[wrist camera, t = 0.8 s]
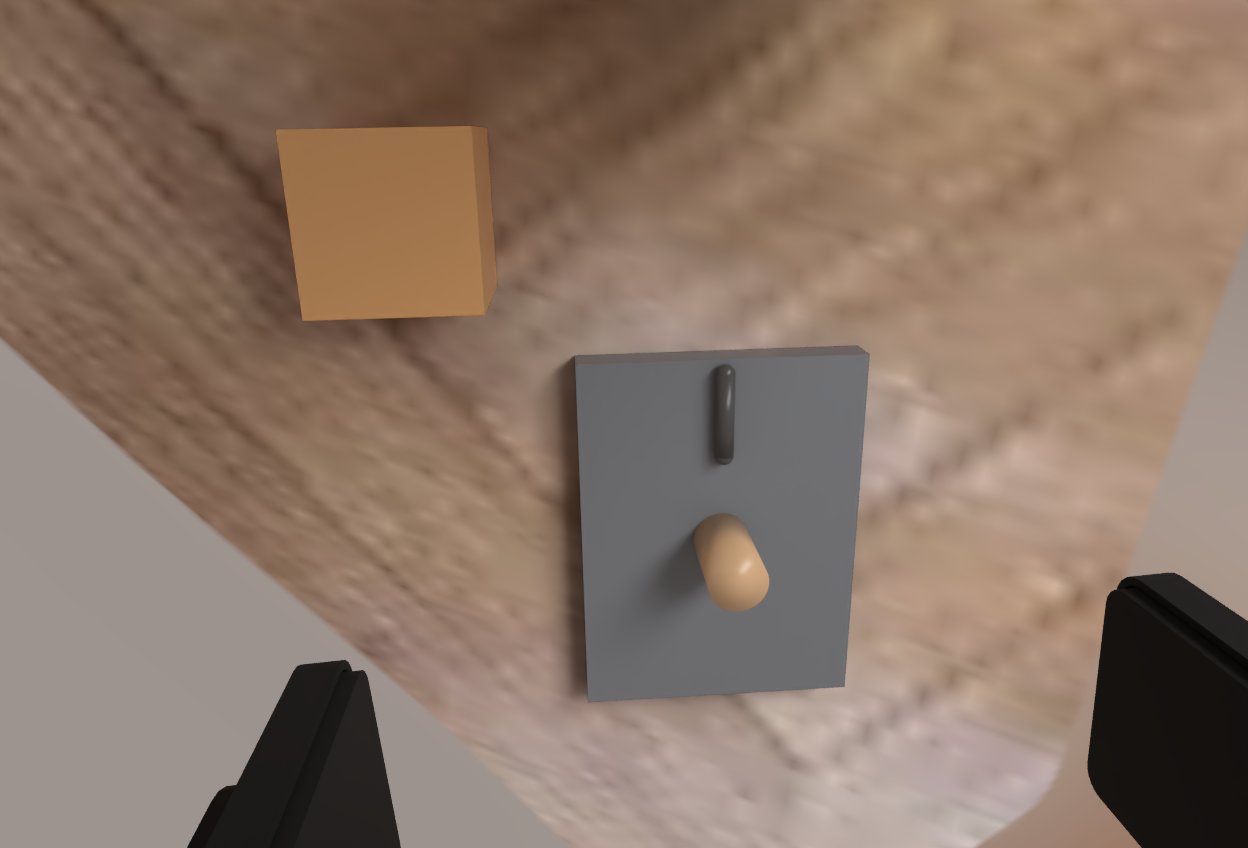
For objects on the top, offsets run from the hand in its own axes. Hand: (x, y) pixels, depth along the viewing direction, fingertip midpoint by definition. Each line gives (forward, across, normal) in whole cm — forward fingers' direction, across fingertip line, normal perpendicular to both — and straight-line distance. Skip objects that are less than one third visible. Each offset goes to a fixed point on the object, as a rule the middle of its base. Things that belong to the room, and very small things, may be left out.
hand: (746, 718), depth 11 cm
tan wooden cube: (+26, +7, -5) cm, 27 cm away
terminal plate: (+26, -4, +10) cm, 28 cm away
